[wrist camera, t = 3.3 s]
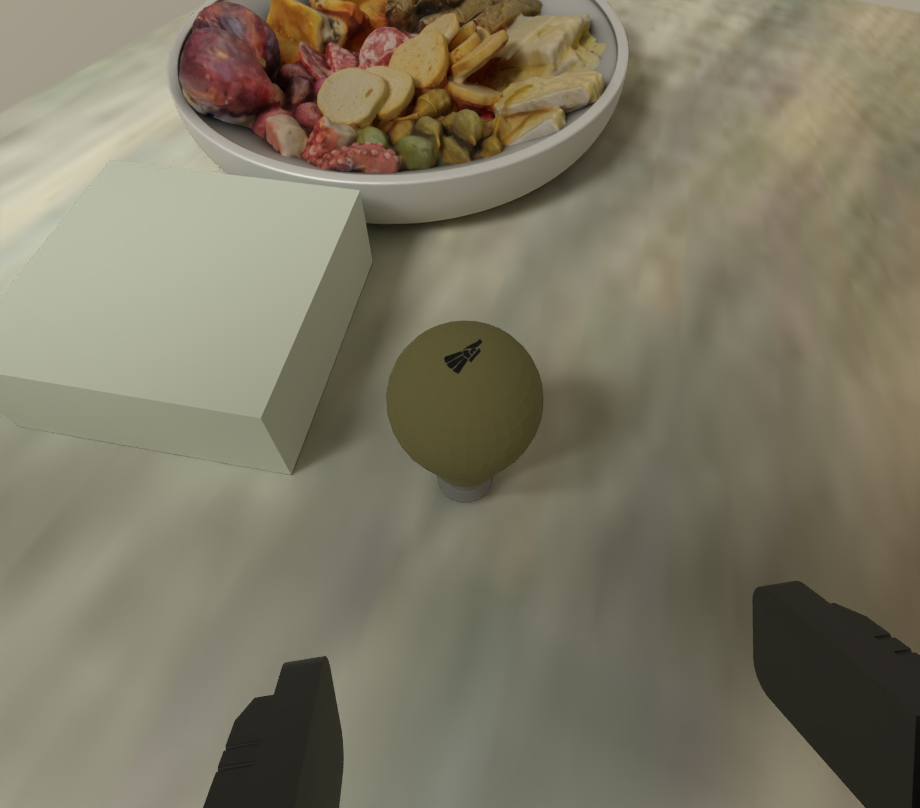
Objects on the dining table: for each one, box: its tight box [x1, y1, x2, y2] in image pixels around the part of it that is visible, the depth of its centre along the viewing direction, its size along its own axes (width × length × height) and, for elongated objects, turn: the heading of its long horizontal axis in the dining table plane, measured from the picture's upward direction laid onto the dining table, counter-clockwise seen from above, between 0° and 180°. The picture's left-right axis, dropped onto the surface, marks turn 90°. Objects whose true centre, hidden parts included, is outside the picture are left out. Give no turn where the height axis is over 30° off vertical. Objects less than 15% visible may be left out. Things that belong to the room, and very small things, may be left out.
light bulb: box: [386, 321, 543, 502], centre depth 24 cm, size 6×6×10 cm
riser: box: [0, 160, 373, 475], centre depth 31 cm, size 14×14×5 cm
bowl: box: [167, 0, 629, 224], centre depth 42 cm, size 30×30×8 cm
